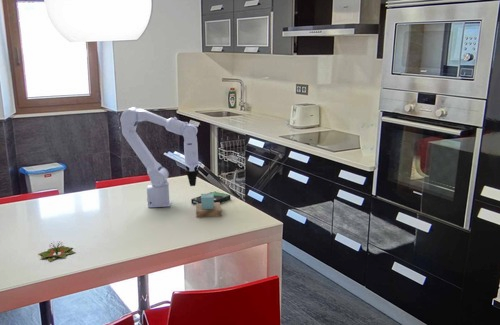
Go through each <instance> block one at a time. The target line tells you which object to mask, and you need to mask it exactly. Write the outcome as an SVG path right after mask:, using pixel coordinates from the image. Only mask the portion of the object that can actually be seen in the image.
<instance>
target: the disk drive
mask: <svg viewBox="0 0 500 325" xmlns="http://www.w3.org/2000/svg"><path fill="white" fill-rule="evenodd" d="M211 193H213V196H214V203H215V202H220V205H221V204H223V203H226V202H228V201H230V200H232V199H231V198H232V197H231V194H227V193H224V192H222V193H221V192H219V191H218V192H217V191H212V192H208V193H207V194H211ZM190 200H191V205H194V206H196V204H198V203H201V195H200V196H195V197H194V198H191V199H190Z"/></svg>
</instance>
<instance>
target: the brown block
mask: <svg viewBox="0 0 500 325" xmlns="http://www.w3.org/2000/svg"><path fill="white" fill-rule="evenodd" d="M195 208H196V209H195V210H196V211H195V214H196V215H195V217H196V218H210V217H211V218H212V217H222V208H221V204H220V202H215V203H214V209H202V205H201V203H198V204H196V205H195Z"/></svg>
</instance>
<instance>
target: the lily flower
mask: <svg viewBox="0 0 500 325" xmlns="http://www.w3.org/2000/svg"><path fill="white" fill-rule="evenodd" d="M53 243H54V244H53ZM51 246H52V247H51ZM71 249H73V247H70V246H69V247H68V246H66V245H64V244H63V243H61V241H59V242H57V245H56V243H55V241H54V240H53V242H50V244H49V248H48V249H47V251H42V252H39V253H38V255H41V258H40V260H42V259H45V258H47V260H48V261H49V262H53V261H54V260H56V259H59V258H61V259H64V260H65V259H66V258H67V255H72V254H76V253H77V252H76V251H74V250H71ZM53 257H54V258H53Z"/></svg>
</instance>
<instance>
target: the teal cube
mask: <svg viewBox="0 0 500 325" xmlns="http://www.w3.org/2000/svg"><path fill="white" fill-rule="evenodd" d="M200 196H201V205H202V209H214V196H213V193H211V194H208V193H201V194H200Z"/></svg>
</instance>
